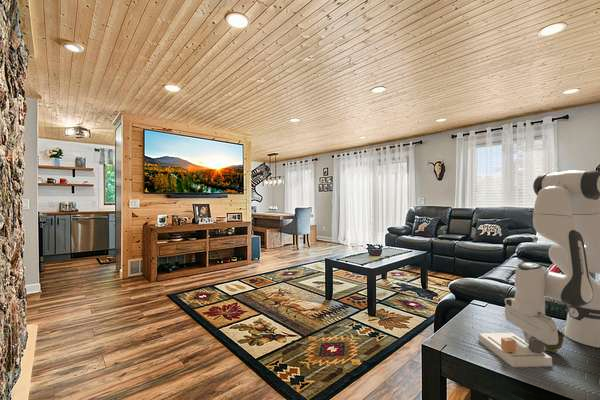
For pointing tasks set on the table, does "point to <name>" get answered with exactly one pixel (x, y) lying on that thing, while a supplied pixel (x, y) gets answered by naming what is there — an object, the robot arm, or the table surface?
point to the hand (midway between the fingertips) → (529, 344)
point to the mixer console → (522, 354)
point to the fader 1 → (508, 344)
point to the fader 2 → (536, 345)
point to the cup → (554, 347)
